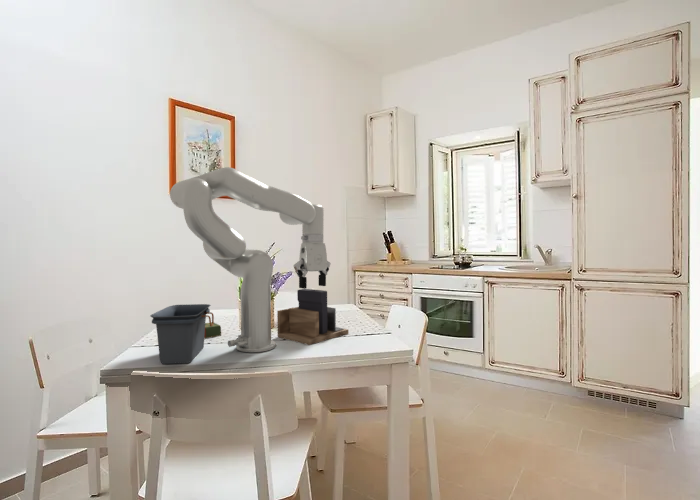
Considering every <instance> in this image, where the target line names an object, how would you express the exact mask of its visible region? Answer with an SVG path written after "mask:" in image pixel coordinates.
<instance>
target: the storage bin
mask: <svg viewBox="0 0 700 500" xmlns="http://www.w3.org/2000/svg"><path fill="white" fill-rule="evenodd" d="M211 306H212V305H211V304H207V303H206V304H205V303H204V304H202V303H201V304H200V303H199V304H196V303H195V304H194V303H193V304H192V303H191V304H173V305H169V306H166V307H165V308H162V309H160V310H158V311H156V312H154V313H152V314H150V316H149V317H151V318H152V319H151V324H153V325H155V326H156V334H157V335H156V336H157V344H158V353H159V354H158V355H159V362H160V363H161V364H163V365H164V364H165V365H167V364H170V365H171V364H188V363H191V362H192V361H194V359H195V358H196V357H197V355H198V354H199V353H200V352H201V351H202V350H203V349H204V346H205V338H204V334H205V323H206V320H207V318H208V320H209V321H208V323H210V326H213V324H214V323H215V321H214V319H215V317H214V313H213V312H210V311H211V310H210V307H211ZM210 315H211V316H210ZM211 322H212V325H211Z"/></svg>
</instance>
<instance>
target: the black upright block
mask: <svg viewBox="0 0 700 500" xmlns="http://www.w3.org/2000/svg"><path fill="white" fill-rule="evenodd" d="M296 296H297V301H298V307H299V309H305V310H311V311H317V312H319V334H324V333H327V331H328V330H327V307H328V290H322V289H321V290H320V289H311V288H305V289H304V288H299V289H297V295H296Z"/></svg>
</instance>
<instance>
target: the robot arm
mask: <svg viewBox="0 0 700 500" xmlns="http://www.w3.org/2000/svg"><path fill="white" fill-rule="evenodd" d="M169 197H170V200H171V202H172V203H173V205H174V206H176V207H177V208H180V209H181V210H183V215H184V220H185V223H186V225H187V227H188V229H189V230H190V232H191V233H193V234H194V236H196V237H197V238H199V240H201V241H202V246H203V250H204V253H205V254H206V255H207V256H208V257H209V258H210V259H211V260H212V261H213V262H215V263H217V264H218V265H219V266H220V267H222V268H223V269H224V270H226V271H228V273H230V274H232V275H233V276H235V277H236V278H237V277H238V278H241V279H242V282H241V286H240V294H239V295H240V297H239V298H240V334H238V336H237V337H236V338H235V339H230V340H228V341H227V345H228V346H227V347H228V348H232V347H236V350H237V351H238V352H243V353H261V352H268V351H270V350H273V349H275V348H276V347H277V342H276V341H275V340H273V339H272V309H271V308H272V304H271V303H272V299H271V298H272V297H271V296H272V295H271V285H272V279H273V278H272V277H273V273H274V264H273V259H272V257H271V256H270V255H269V254H268V253H267V252H266V251H263V250H261V249H259V250H258V249H247V243H246V240H245V239H244V237H243V236H242V235H241V234H240V233H238V231H236V229H233V228H232V227H231V226H230V224H228V223H226V222H225V221H224V220H223V219H222V218H221V217H219V216H218V214H217V213H216V212H215V210H214V208H213V200H215V199H218V198H221V197H229V198H231V199H234V200H235V201H237V202H240V203H242V204H244V205H246V206H249V207H250V208H252V209H255V210H259V211H264V212H271V213H272V212H273V213H278V216H279V219H280V220H281V221H282V222H283V223H284V224H286V225H291V226H296V225H302V228H301V229H302V230H301V231H302V234H301V235H302V236H300V239H301V240H302V241H301V244H300V250H299V259H298V261H297V262H295V263H294V264H293V268H294V271H295V274H296V275H297V277H298V287H299V289H308V288H307V286H308V285H307V282H308V281H307V275H308V272H318V286H320V287H326V286H327V275H328V272H329V270H330V267H331V262H330V261H328V257H327V256H328V253H327V247H326V243H324V220H325V219H324V211H325V210H324V207H323V205H321V204H314V203H313V204H312V203H311V202H310V201H308V200H307V199H304V198H302V197H301V196H299V195H297V194H294V193H292V192H289V191H286V190H283V189H280V188H277V187H275V186H274V187H273V186H271V185H268V184H265V183H263V182H262V181H259V180H257V179H256V178H254V177H251V176H250V175H248V174H245V173H244V172H242V171H240V170H238V169H236V168H233V167H229V166H226V167H225V166H224V167H220V168H218V169H217V168H216V169H215V170H211V171H209V172H207V173H206V172H205V173H203V174H200V175H196V176H193V177H191V178H188V179H184V180H181V181H178V182H176V183H174V184H173V186H172V187H171V189H170V192H169Z"/></svg>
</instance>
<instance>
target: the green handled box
mask: <svg viewBox="0 0 700 500" xmlns="http://www.w3.org/2000/svg"><path fill="white" fill-rule="evenodd" d="M211 325H212V321H211ZM221 336H222V326H221V325H220V324H218V323H216V322H214V324H213V326H210V322H205V334H204V339H207V338H215V337H221Z"/></svg>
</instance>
